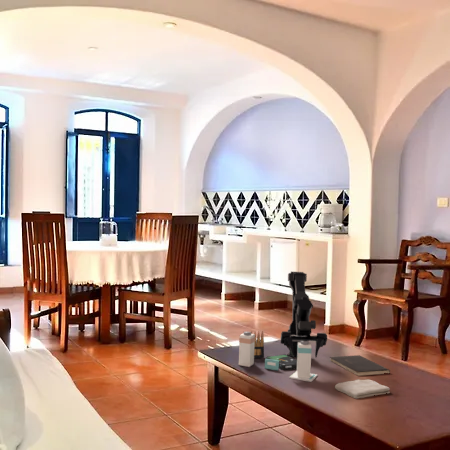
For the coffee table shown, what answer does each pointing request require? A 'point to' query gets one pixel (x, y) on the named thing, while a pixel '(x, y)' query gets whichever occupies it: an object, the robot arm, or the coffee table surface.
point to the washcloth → (362, 388)
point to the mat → (312, 377)
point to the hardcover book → (359, 365)
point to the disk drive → (284, 362)
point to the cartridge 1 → (246, 349)
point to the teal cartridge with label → (271, 364)
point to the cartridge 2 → (304, 359)
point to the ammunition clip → (258, 345)
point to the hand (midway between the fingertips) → (304, 356)
